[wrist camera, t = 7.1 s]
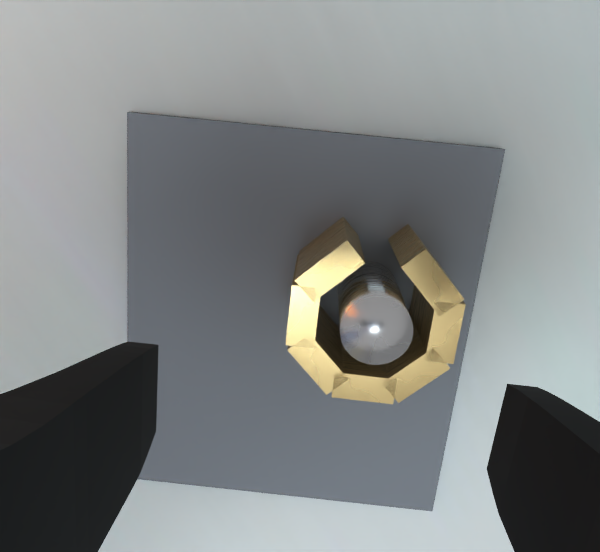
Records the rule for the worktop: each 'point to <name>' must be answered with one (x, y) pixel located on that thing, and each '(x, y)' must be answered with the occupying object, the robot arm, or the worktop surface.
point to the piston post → (373, 315)
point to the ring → (326, 334)
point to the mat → (287, 299)
